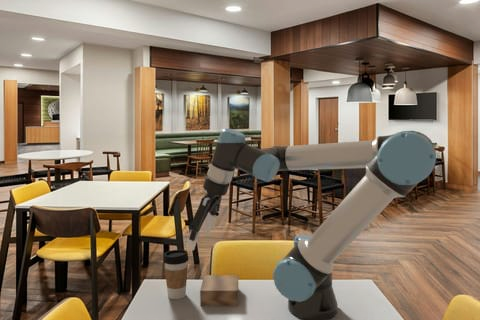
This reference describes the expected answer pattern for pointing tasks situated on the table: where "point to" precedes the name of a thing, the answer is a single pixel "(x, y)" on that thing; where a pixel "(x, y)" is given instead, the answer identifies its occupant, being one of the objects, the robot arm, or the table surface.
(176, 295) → the coffee cup
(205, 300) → the walnut block
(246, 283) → the table surface
